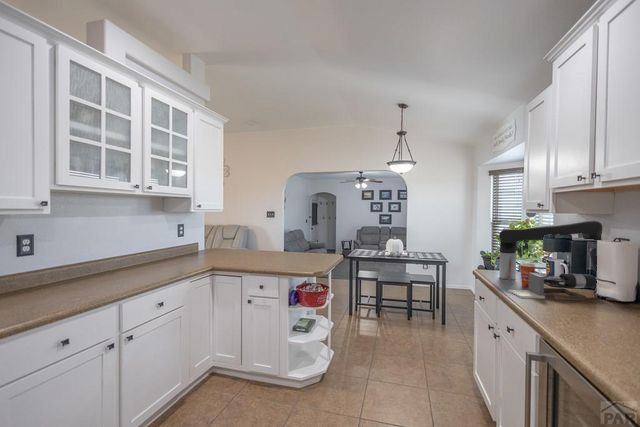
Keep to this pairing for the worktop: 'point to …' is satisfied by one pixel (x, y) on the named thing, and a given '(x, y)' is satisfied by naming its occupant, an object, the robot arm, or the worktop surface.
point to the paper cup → (526, 272)
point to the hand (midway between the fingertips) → (538, 280)
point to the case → (562, 297)
